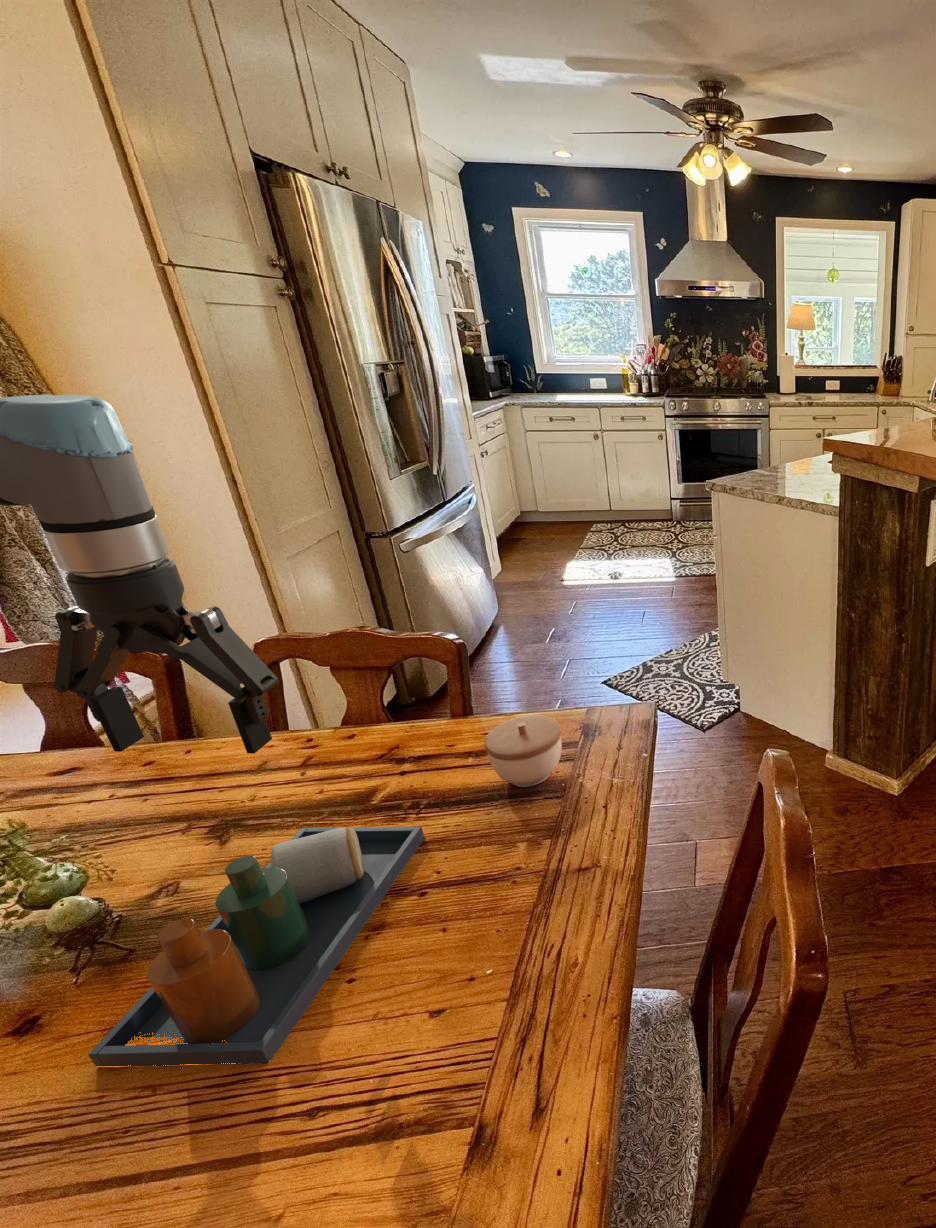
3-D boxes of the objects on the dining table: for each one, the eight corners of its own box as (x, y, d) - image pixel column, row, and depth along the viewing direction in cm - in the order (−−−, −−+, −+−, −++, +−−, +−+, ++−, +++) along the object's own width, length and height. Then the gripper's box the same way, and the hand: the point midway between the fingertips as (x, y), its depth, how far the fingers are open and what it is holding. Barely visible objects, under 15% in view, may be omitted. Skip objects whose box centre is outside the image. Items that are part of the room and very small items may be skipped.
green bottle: (230, 971, 70) (186, 887, 65) (270, 924, 76) (233, 843, 71) (287, 970, 71) (249, 886, 66) (323, 923, 76) (290, 842, 71)
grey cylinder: (369, 891, 81) (352, 843, 78) (286, 922, 76) (265, 873, 73) (363, 840, 88) (348, 795, 85) (287, 866, 84) (268, 819, 81)
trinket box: (579, 774, 103) (571, 724, 99) (511, 807, 96) (500, 755, 92) (547, 745, 110) (539, 697, 106) (482, 774, 102) (470, 724, 98)
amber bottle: (166, 1047, 63) (112, 959, 58) (215, 989, 69) (169, 904, 63) (230, 1045, 64) (182, 957, 58) (274, 987, 69) (233, 903, 64)
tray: (99, 1072, 62) (87, 1055, 61) (307, 842, 88) (301, 827, 87) (270, 1067, 62) (261, 1050, 61) (425, 840, 89) (421, 826, 88)
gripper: (282, 555, 67) (334, 727, 76) (22, 547, 65) (107, 723, 74) (225, 582, 60) (290, 768, 69) (-67, 573, 59) (38, 764, 67)
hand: (195, 745), depth 72 cm, fingers open, 13 cm apart
